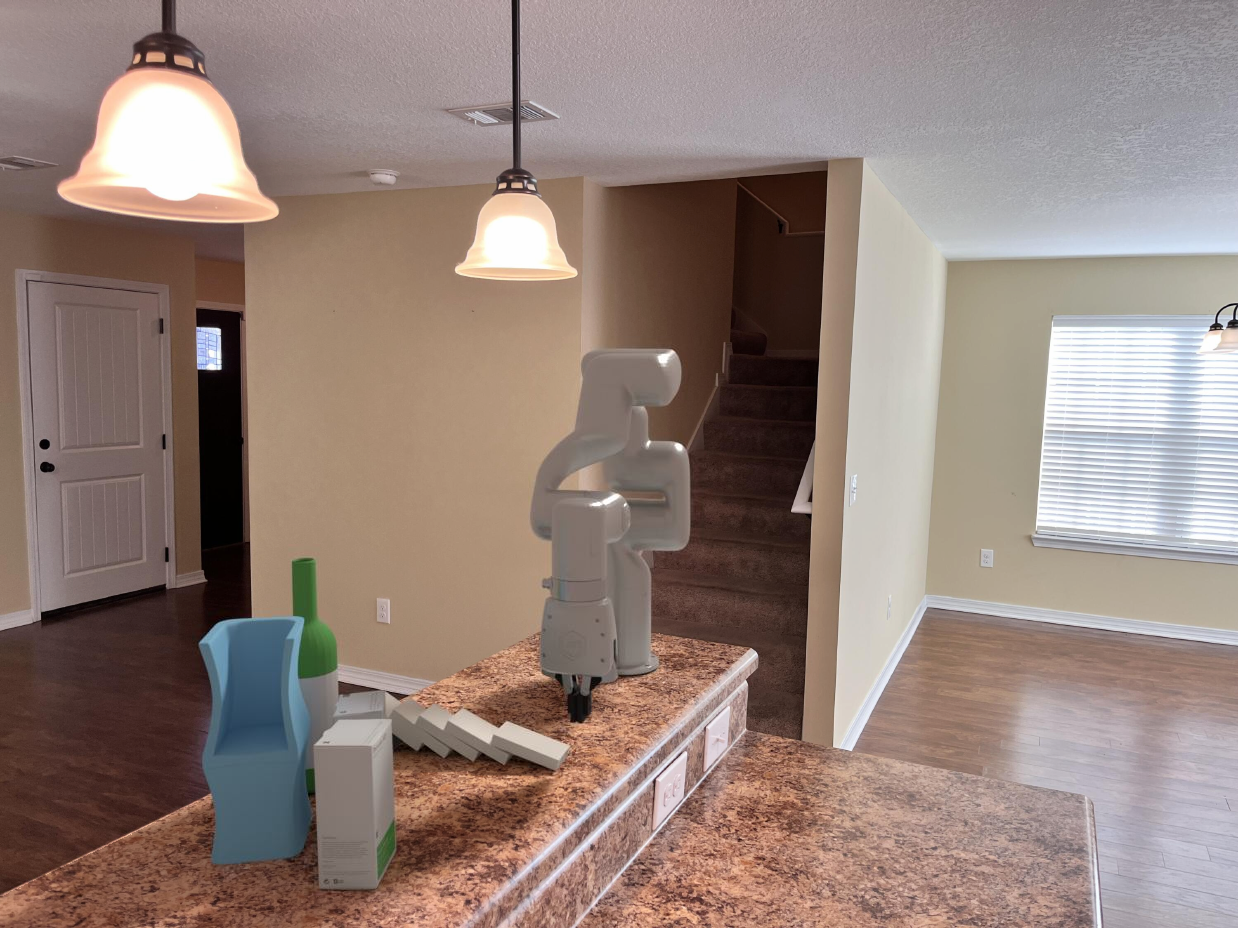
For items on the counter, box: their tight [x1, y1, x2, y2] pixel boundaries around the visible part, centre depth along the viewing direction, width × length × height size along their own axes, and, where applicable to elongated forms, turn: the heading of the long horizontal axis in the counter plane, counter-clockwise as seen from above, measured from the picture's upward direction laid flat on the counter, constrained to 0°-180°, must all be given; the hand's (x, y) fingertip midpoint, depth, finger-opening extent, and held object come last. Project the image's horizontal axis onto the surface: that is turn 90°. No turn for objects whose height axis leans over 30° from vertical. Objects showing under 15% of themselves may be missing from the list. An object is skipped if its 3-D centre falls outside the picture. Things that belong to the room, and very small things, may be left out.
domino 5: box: [490, 720, 571, 772], centre depth 123 cm, size 2×5×10 cm
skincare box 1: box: [333, 689, 386, 725], centre depth 106 cm, size 8×6×15 cm
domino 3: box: [415, 702, 484, 763], centre depth 126 cm, size 2×5×10 cm
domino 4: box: [444, 707, 515, 766], centre depth 125 cm, size 2×5×10 cm
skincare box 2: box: [313, 719, 397, 890], centre depth 95 cm, size 8×7×16 cm
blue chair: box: [198, 615, 314, 866], centre depth 101 cm, size 10×10×25 cm
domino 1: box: [385, 690, 426, 752], centre depth 128 cm, size 2×5×10 cm
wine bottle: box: [291, 557, 339, 794], centre depth 115 cm, size 8×8×30 cm
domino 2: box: [389, 696, 455, 759], centre depth 127 cm, size 2×5×10 cm
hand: (579, 719), depth 121 cm, fingers closed
